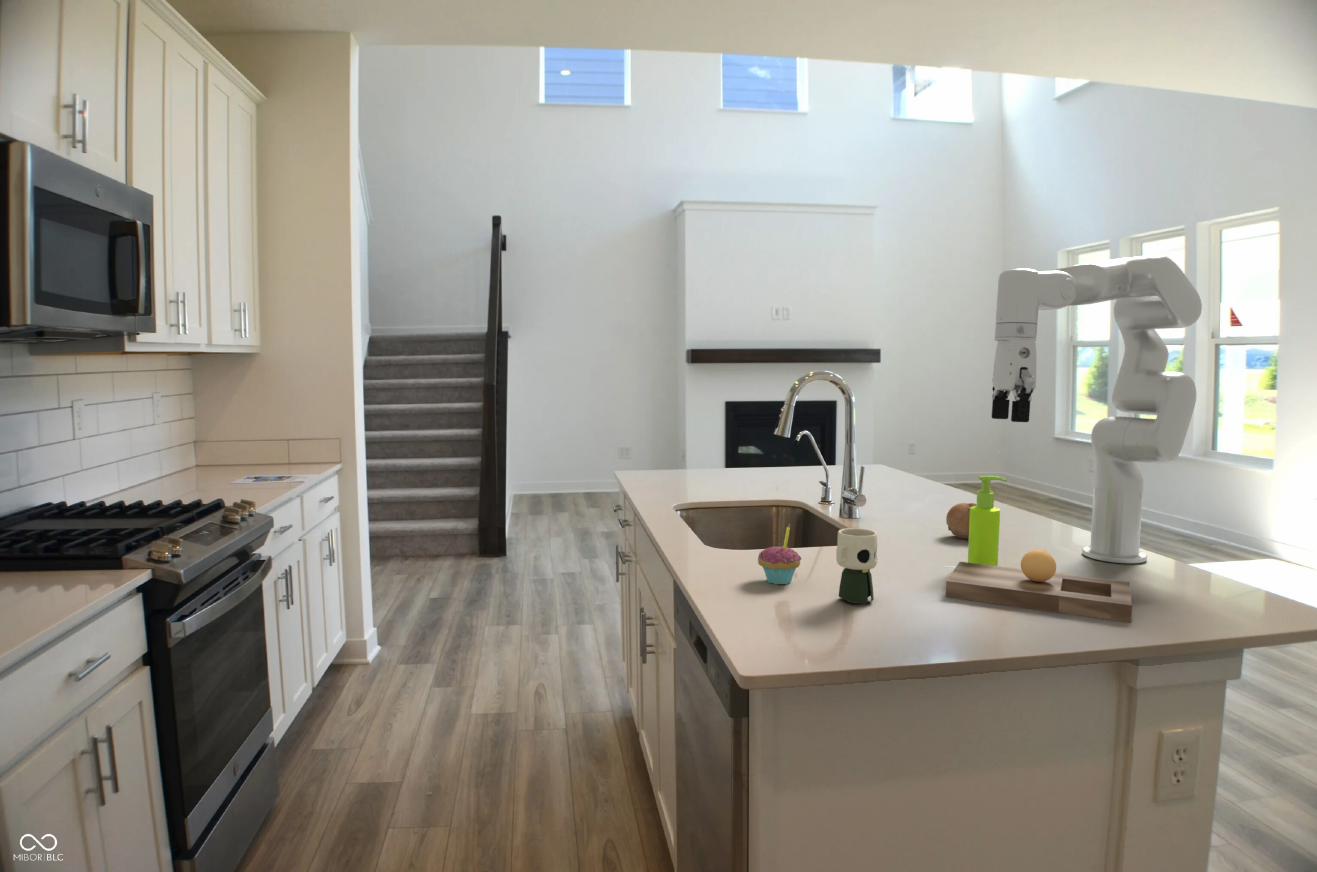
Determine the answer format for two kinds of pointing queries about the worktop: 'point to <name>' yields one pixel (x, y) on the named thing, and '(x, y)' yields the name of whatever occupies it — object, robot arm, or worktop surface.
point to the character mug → (856, 563)
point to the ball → (1038, 565)
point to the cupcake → (779, 562)
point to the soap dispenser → (984, 526)
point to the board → (1042, 591)
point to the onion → (959, 520)
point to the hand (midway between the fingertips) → (1009, 420)
